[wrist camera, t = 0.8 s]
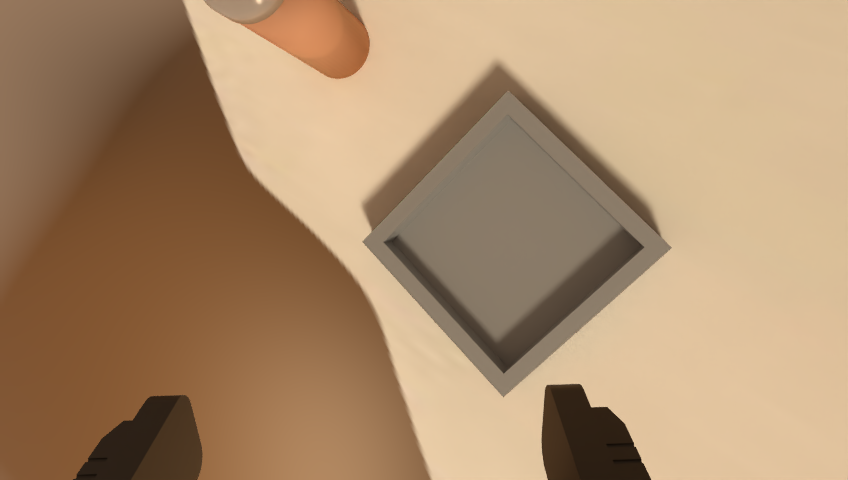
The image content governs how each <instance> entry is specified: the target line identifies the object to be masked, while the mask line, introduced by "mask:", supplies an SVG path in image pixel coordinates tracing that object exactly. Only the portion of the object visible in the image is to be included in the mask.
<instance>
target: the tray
mask: <svg viewBox="0 0 848 480" xmlns="http://www.w3.org/2000/svg"><path fill="white" fill-rule="evenodd" d="M363 243H364V244H365V245H366V246H367V247H368V248H369V250H370V251H371V252H372V253H373V254H374V255H375V256H376V257H377V258H378V259H379V261H380V262H381V263H382V264H383V265H384V266H385V267H386V268H387V269H388V271H389V272H390V273H391V274H392V275H393V276H394V277H395V278H396V279H397V280H398V282H399V283H400V284H401V285H402V286H403V287H404V288H405V289H406V290H407V291H408V293H409V294H410V295H411V296H412V297H413V298H414V299H415V300H416V301H417V302H418V304H419V305H420V306H421V307H422V308H423V309H424V310H425V311H426V312H427V313H428V315H429V316H430V317H431V318H432V319H433V320H434V321H435V322H436V323H437V325H438V326H439V327H440V328H441V329H442V330H443V331H444V332H445V333H446V334H447V336H448V337H449V338H450V339H451V340H452V341H453V342H454V343H455V344H456V345H457V347H458V348H459V349H460V350H461V351H462V352H463V353H464V354H465V355H466V356H467V358H468V359H469V360H470V361H471V362H472V363H473V364H474V365H475V366H476V368H477V369H478V370H479V371H480V372H481V373H482V374H483V375H484V376H485V377H486V379H487V380H488V381H489V382H490V383H491V384H492V385H493V386H494V387H495V388H496V390H497V391H498V392H499V393H500V394H501V395H502V396H503V397H504V396H505V395H506V394H507V393H509V392H510V391H511V390H512V389H513V388H514V387H515V386H517V385H518V384H519V383H520V382H521V381H522V380H523V379H524V378H526V377H527V376H528V375H529V374H530V373H531V372H532V371H533V370H535V369H536V368H537V367H538V366H539V365H540V364H541V363H542V362H544V361H545V360H546V359H547V358H548V357H549V356H550V355H551V354H553V353H554V352H555V351H556V350H557V349H558V348H559V347H561V346H562V345H563V344H564V343H565V342H566V341H567V340H568V339H570V338H571V337H572V336H573V335H574V334H575V333H576V332H577V331H579V330H580V329H581V328H582V327H583V326H584V325H585V324H586V323H588V322H589V321H590V320H591V319H592V318H593V317H594V316H595V315H597V314H598V313H599V312H600V311H601V310H602V309H603V308H604V307H606V306H607V305H608V304H609V303H610V302H611V301H612V300H614V299H615V298H616V297H617V296H618V295H619V294H620V293H621V292H623V291H624V290H625V289H626V288H627V287H628V286H629V285H630V284H632V283H633V282H634V281H635V280H636V279H637V278H638V277H639V276H641V275H642V274H643V273H644V272H645V271H646V270H647V269H648V268H650V267H651V266H652V265H653V264H654V263H655V262H656V261H657V260H659V259H660V258H661V257H662V256H663V255H664V254H665V253H667V252H668V251H669V250H670V249H671V247H670V246H669V245H668V244H667V243H666V242H665V241H664V240H663V239H662V238H661V237H660V236H659V235H658V234H657V233H656V232H655V231H654V230H653V229H652V228H651V227H650V226H649V225H648V224H647V223H645V222H644V221H643V220H642V219H641V218H640V217H639V216H638V215H637V214H636V213H635V212H634V211H633V210H632V209H631V208H630V207H629V206H628V205H627V204H626V203H625V202H624V201H623V200H622V199H621V198H620V197H618V196H617V195H616V194H615V193H614V192H613V191H612V190H611V189H610V188H609V187H608V186H607V185H606V184H605V183H604V182H603V181H602V180H601V179H600V178H599V177H598V176H597V175H596V174H595V173H594V172H593V171H591V170H590V169H589V168H588V167H587V166H586V165H585V164H584V163H583V162H582V161H581V160H580V159H579V158H578V157H577V156H576V155H575V154H574V153H573V152H572V151H571V150H570V149H569V148H568V147H567V146H566V145H564V144H563V143H562V142H561V141H560V140H559V139H558V138H557V137H556V136H555V135H554V134H553V133H552V132H551V131H550V130H549V129H548V128H547V127H546V126H545V125H544V124H543V123H542V122H541V121H540V120H539V119H538V118H536V117H535V116H534V115H533V114H532V113H531V112H530V111H529V110H528V109H527V108H526V107H525V106H524V105H523V104H522V103H521V102H520V101H519V100H518V99H517V98H516V97H515V96H514V95H513V94H512V93H511V92H509V91H507V92H506V93H505V94H504V95H503V96H502V97H501V98H500V99H499V100H498V101H497V102H496V103H495V104H494V105H493V106H492V108H491V109H490V110H489V111H488V112H487V113H486V114H485V115H484V116H483V117H482V118H481V119H480V120H479V121H478V122H477V123H476V124H475V125H474V126H473V127H472V128H471V129H470V130H469V131H468V132H467V134H466V135H465V136H464V137H463V138H462V139H461V140H460V141H459V142H458V143H457V144H456V145H455V146H454V147H453V148H452V149H451V150H450V151H449V152H448V153H447V154H446V155H445V156H444V157H443V158H442V159H441V161H440V162H439V163H438V164H437V165H436V166H435V167H434V168H433V169H432V170H431V171H430V172H429V173H428V174H427V175H426V176H425V177H424V178H423V179H422V180H421V181H420V182H419V183H418V184H417V185H416V187H415V188H414V189H413V190H412V191H411V192H410V193H409V194H408V195H407V196H406V197H405V198H404V199H403V200H402V201H401V202H400V203H399V204H398V205H397V206H396V207H395V208H394V209H393V210H392V211H391V213H390V214H389V215H388V216H387V217H386V218H385V219H384V220H383V221H382V222H381V223H380V224H379V225H378V226H377V227H376V228H375V229H374V230H373V231H372V232H371V233H370V234H369V235H368V236H367V237H366V238H365V240H364V241H363Z"/></svg>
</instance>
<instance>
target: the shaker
mask: <svg viewBox="0 0 848 480" xmlns="http://www.w3.org/2000/svg"><path fill="white" fill-rule="evenodd" d="M204 1H205V3H206V4H207V5H208V6H209V7H210V8H211V9H213V10H214V11H216V12H218V13H219V14H221V15H223V16H224V17H226V18H228V19H229V20H231V21H233V22H236V23H239V24H241V25H243V26H245V27H246V28H248V29H250V30H251V31H253V32H255V33H256V34H258V35H259V36H261V37H263V38H264V39H266V40H268V41H269V42H271V43H273V44H274V45H276V46H278V47H279V48H281V49H283V50H284V51H286V52H287V53H289V54H291V55H292V56H294V57H296V58H297V59H299V60H301V61H302V62H304V63H306V64H307V65H309V66H310V67H312V68H314V69H315V70H317V71H319V72H320V73H322V74H324V75H325V76H327V77H330V78H335V79H341V78H346V77H349V76H351V75H353V74H354V73H356V72H357V71H358V70H359V69H360V68H361V67H362V65H363V64H364V62H365V61H366V58H367V56H368V53H369V46H370V42H369V36H368V32H367V30H366V28H365V27H364V25H363V24H362V23H361V22H360V21H359V20H358V19H357V18H356V17H355V16H354V15H353V14H352V13H351V12H350V11H349V10H348V9H346V8H345V7H344V6H343V5H342V4H341V3H340V2H339V1H338V0H204Z"/></svg>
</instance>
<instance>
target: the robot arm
mask: <svg viewBox="0 0 848 480" xmlns="http://www.w3.org/2000/svg"><path fill="white" fill-rule="evenodd" d="M542 454H543V461H544V467H545V471H546V474H547V478H548V480H651V478H650V476H649V474H648V472H647V470H646V468H645V466H644V464H643V463H642V462H641V457H640V455H639V453H638V451H637V449H636V447H634V442H633V440H632V438H631V436H630V434H629V432H628V430H627V428H626V426H625V424H624V423H623V422H622V421H621V420H620V419H619V418H618V417H617V416H616V415H615V414H614V413H613V412H612V411H611V410H610V409H609V408H608V407H593V408H591V406H590V404H589V401H588V399H587V397H586V394H585V392H584V389H583V387H582V386H581V385H580V384H565V385H547V386H546V388H545V398H544V412H543V426H542ZM201 465H202V447H201V442H200V439H199V434H198V431H197V426H196V422H195V418H194V415H193V411H192V407H191V403H190V400H189V398H188V397H187V396H185V395H179V396H152V397H149V398H148V399H147V400H146V401H145V403H144V404H143V406H142V407H141V409H140V410H139V412H138V413H137V415H136V416H135V418H134V419H133V421H123V422H122V423H121V424H119V425H118V426H117V427H116V428H114V429H113V430H112V431H111V432H109V434H107V435H106V436H105V437H103V438H102V439H101V441H100V442H99V444H98V445H97V447H96V448H95V449H94V451H93V452H92V454H91V455H90V456H89V458H88V462H85V464H84V465H83V466H82V468H81V469H80V471H79V472H78V474H77V478H76V479H73V480H197V479H198V476H199V473H200V470H201Z"/></svg>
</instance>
